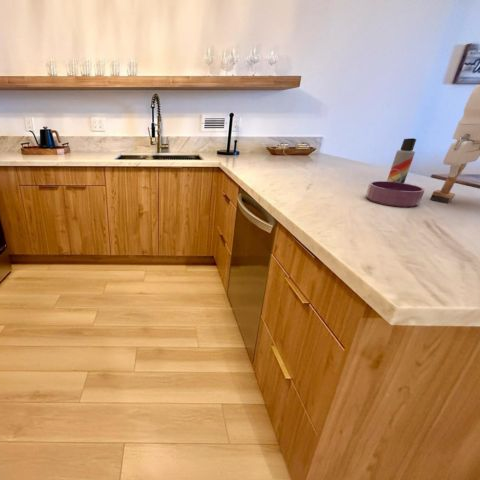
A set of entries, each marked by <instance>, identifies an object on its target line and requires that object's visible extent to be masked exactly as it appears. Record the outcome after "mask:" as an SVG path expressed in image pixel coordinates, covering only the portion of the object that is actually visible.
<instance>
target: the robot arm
mask: <svg viewBox="0 0 480 480" xmlns="http://www.w3.org/2000/svg"><path fill="white" fill-rule="evenodd" d="M451 139H453V142H452V143H451V144H450V146H449V147H448V150H447V152H446V154H445V156H444V158H443V162H442V164H443V165H445V166H449V173H448V175H447V177H448V176H449V177H456V176H457V174H458V169H459V167H460V166H461V164H462V165H464V166H463V168H462V170H461V172H460V174H459V176H461V175H462V173H463V171H464V170H465V168H466V167H467V165H468V164H470V163H473V162H476V161H477V160H478V159H479V158H480V83H478V84H476V86H475V87H474V88H473V89H472V92H471V93H470V95H469V97H468V99H467V101H466V104H465V105H464V108H463V115H462V117H461V119H460V120H459V121H458V122H457V125H456V127H455V130H454V133H453V135H452V137H451ZM459 176H458V177H459Z"/></svg>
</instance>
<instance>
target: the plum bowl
mask: <svg viewBox="0 0 480 480" xmlns="http://www.w3.org/2000/svg"><path fill="white" fill-rule="evenodd" d="M424 193H425V188H423V187H421V186H418V185H416V184H411V183H405V182H404V183H399V182H389V181H387V180H376V181H375V180H374V181H371V182H369V185H368V187H367V191H366V194H365V197H366V198H367V199H368V200H369V201H371V202H373V203H376V204H379V205H383V206H384V205H385V206H389V207H397V208H409V207H410V208H412V207H415V206H417V205H419V204H421V200H422V198H423V197H424V196H423V195H424Z"/></svg>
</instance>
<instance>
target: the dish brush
mask: <svg viewBox="0 0 480 480" xmlns="http://www.w3.org/2000/svg"><path fill="white" fill-rule="evenodd" d="M463 166H464V165H462V164H461V166H460V167H459V169H458V174H457V176H456V177H449V176H448V175H447V178H446V179H445V181H444V183H443V186H442V187H441V189H436V190H434V191H433V192H432V194H431V196H430V198H429V200H432V201H435V202H439V203H443V204H449V203H451V202H452V201H453V199H454V198H455V196H456V193H454V192H451V190H452V189H453V187H454V185H455V183H456V181H457V179H458V178H459V174H460V172H461V170H462V168H463Z"/></svg>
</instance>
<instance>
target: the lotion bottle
mask: <svg viewBox="0 0 480 480" xmlns="http://www.w3.org/2000/svg"><path fill="white" fill-rule="evenodd" d="M416 142H417V138H413V137H412V138H403V141H402V143H401V146H400V149H398V150H396V153H395V155H394V159H393V162H392V164H391V168H390V170H389V174H388V177H387V179H386V181H389V182H399V183H405V181H406V180H407V177H408V173H409V171H410V168H411V166H412V163H413V160H414V158H415V157H414V156H415V153H416V151H414V148H415V145H416Z"/></svg>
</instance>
